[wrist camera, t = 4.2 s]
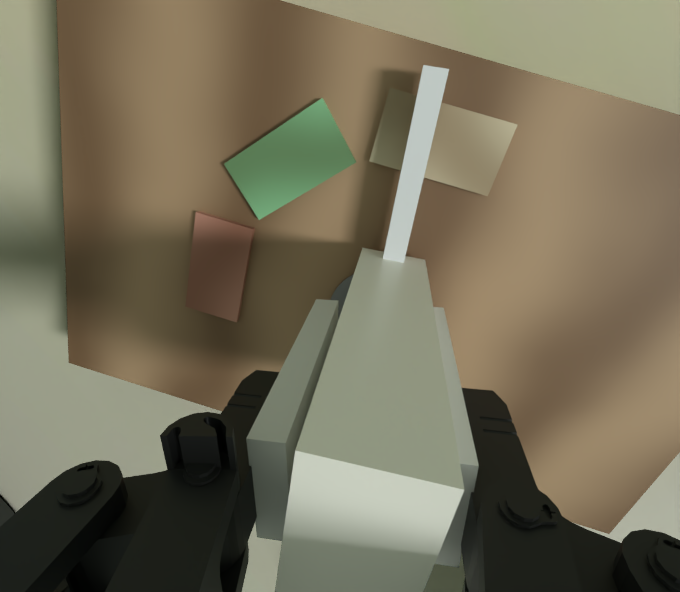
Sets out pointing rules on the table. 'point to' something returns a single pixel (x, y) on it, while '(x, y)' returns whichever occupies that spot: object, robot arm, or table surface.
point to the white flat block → (378, 418)
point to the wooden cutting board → (371, 221)
